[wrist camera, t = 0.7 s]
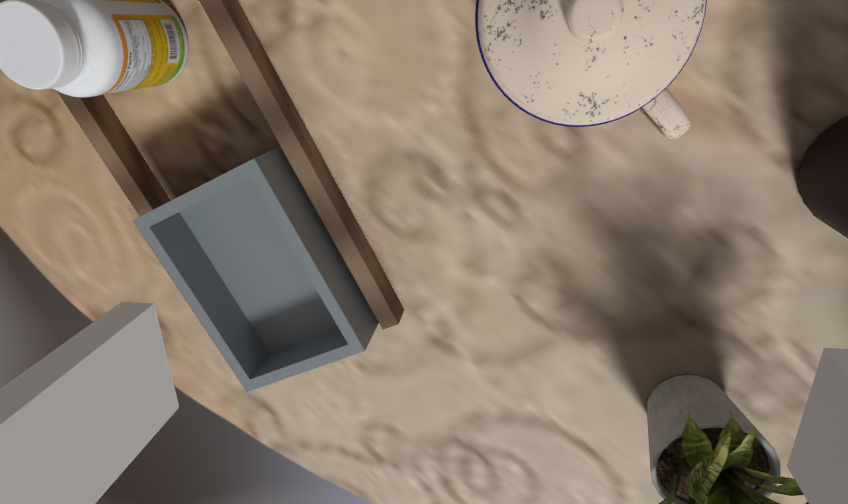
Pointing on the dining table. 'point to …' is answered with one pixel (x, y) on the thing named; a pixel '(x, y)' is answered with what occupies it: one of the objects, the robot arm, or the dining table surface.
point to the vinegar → (827, 177)
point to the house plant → (708, 448)
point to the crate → (261, 272)
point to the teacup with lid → (590, 57)
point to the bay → (289, 134)
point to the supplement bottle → (91, 44)
